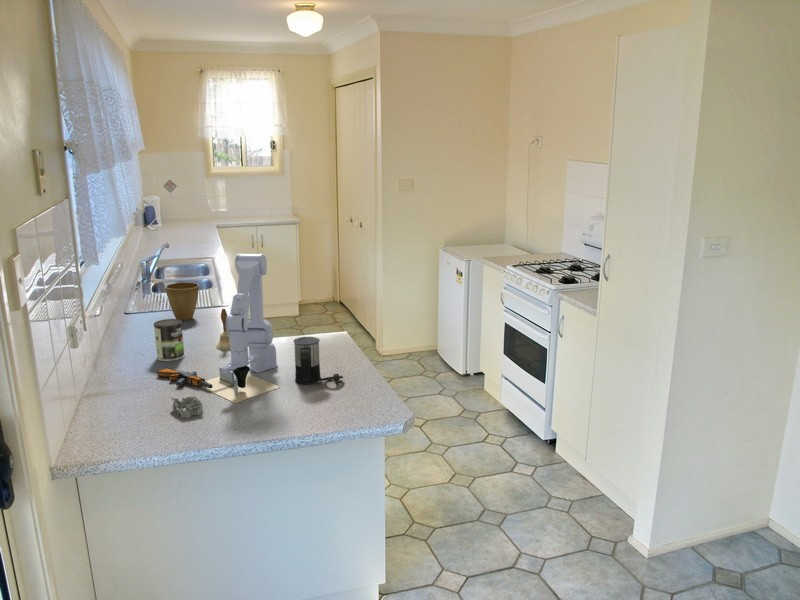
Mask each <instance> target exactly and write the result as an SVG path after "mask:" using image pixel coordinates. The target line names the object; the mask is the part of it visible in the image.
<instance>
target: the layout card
mask: <svg viewBox="0 0 800 600" xmlns="http://www.w3.org/2000/svg"><path fill="white" fill-rule="evenodd" d="M205 381H206V382H207V383H209V384H212V387H213V388H207V387H205V386H201V387H200V388H202V389H204V390H206V391H208V392H211V393H212V394H214V395H217V396H219V397H221V398H223V399H224V400H228V401H229V402H231V403H233V404H237V403H240V402H243V401H245V400H249V399H251V398H255V397H257V396H260V395H263V394H265V393H268V392H272V391H275V390H277V389H280V386H278V385H276V384H273V383H271V382H268V381H266V380H263V379H261V378H258V377H256V376H254V375H251V374H249V373H248V374H247V377H246V386H245V388H240V387H238V394H235V386H234V384H231V383H229V382H227V381H224V380H222V379H220V376H217V377H214V378H211V379H207V380H205ZM237 383H238V382H237Z"/></svg>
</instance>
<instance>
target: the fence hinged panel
mask: <svg viewBox="0 0 800 600" xmlns="http://www.w3.org/2000/svg"><path fill="white" fill-rule="evenodd" d="M233 379H234V386H235V394H238V383H237V378H236V376H235V374H234V373H233Z"/></svg>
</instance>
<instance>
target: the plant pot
mask: <svg viewBox="0 0 800 600" xmlns="http://www.w3.org/2000/svg"><path fill="white" fill-rule="evenodd" d="M199 289H200V285H199V283H197V282H190V281H189V282H188V281H187V282H184V281H182V282H174V283H173V282H172V283H169V284H166V285H165V292H166V296H167V299H168V303H169V305H170V309H171V311H172V314H173V316H174V317H175V318H174V319H178V320H181V321H182V322H183V321H190V320H192V319H193V317H194V314H195V312H196V308H197V303H198V296H199Z"/></svg>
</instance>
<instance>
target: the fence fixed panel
mask: <svg viewBox="0 0 800 600" xmlns="http://www.w3.org/2000/svg"><path fill="white" fill-rule="evenodd" d="M221 367H222V366H219V369H218V370H219V377H220V379H222V380H224V381H227V382H229V383H231V384H234V379H233V371H230V372H228V373H227V374H223V373H222V371H221Z"/></svg>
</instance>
